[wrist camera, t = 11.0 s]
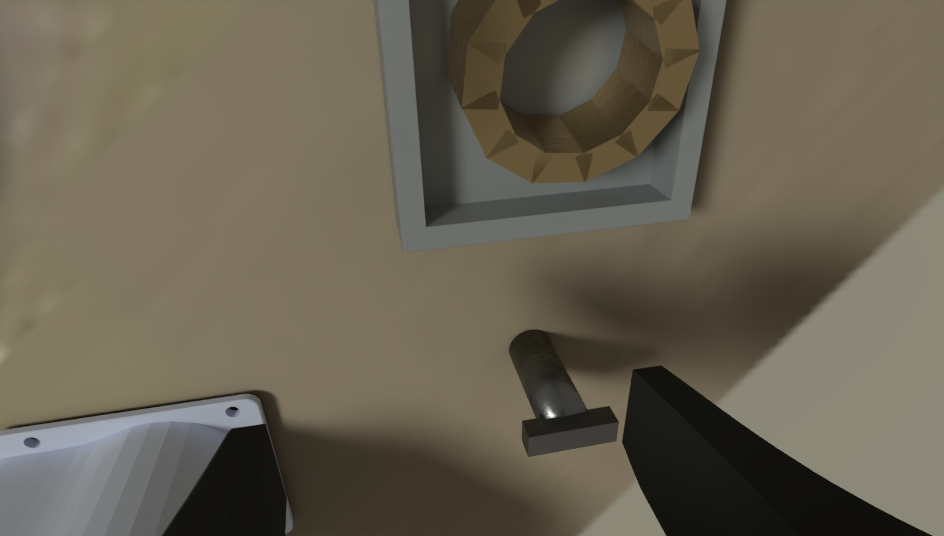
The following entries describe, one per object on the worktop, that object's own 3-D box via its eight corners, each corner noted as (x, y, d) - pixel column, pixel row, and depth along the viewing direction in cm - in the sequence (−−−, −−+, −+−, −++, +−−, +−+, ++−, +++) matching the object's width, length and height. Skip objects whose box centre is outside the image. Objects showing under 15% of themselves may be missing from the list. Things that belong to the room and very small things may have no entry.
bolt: (493, 370, 24) (527, 465, 20) (492, 335, 23) (528, 427, 19) (564, 359, 25) (615, 450, 20) (566, 325, 24) (620, 412, 19)
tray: (397, 224, 20) (402, 252, 18) (355, -180, 15) (357, -199, 13) (659, 196, 22) (689, 219, 20) (711, -178, 16) (759, -196, 14)
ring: (441, 144, 18) (457, 194, 16) (465, -197, 13) (494, -194, 11) (623, 143, 20) (661, 189, 18) (713, -166, 14) (786, -158, 12)
